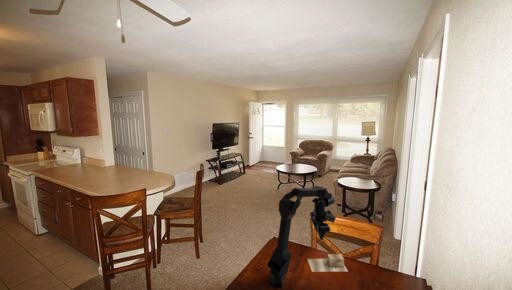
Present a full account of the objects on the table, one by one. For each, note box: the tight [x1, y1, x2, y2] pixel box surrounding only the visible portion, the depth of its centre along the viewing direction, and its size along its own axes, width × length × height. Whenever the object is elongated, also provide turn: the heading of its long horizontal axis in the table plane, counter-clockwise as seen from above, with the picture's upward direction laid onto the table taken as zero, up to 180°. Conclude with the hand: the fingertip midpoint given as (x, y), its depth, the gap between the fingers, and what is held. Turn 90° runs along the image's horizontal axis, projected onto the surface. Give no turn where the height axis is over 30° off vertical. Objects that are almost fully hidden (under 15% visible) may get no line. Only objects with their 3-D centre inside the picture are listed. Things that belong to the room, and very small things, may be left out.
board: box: [307, 258, 349, 273], centre depth 114 cm, size 18×10×1 cm, turn 90°
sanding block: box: [327, 253, 345, 267], centre depth 113 cm, size 7×4×4 cm, turn 90°
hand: (319, 235), depth 122 cm, fingers open, 9 cm apart
